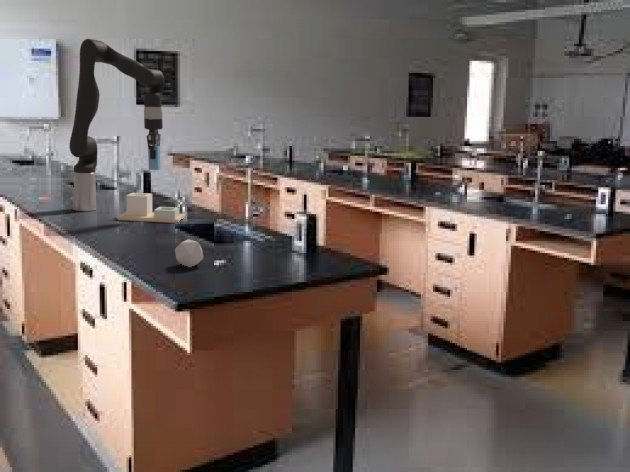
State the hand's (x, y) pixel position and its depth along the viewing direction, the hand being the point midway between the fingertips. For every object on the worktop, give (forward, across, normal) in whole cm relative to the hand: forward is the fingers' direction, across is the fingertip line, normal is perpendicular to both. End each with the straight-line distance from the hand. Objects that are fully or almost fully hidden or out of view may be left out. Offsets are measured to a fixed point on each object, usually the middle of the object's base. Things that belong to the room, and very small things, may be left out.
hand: (154, 158), depth 273 cm
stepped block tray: (+26, 0, -2) cm, 26 cm away
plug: (+5, 0, 0) cm, 5 cm away
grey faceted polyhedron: (+28, +76, +30) cm, 86 cm away
